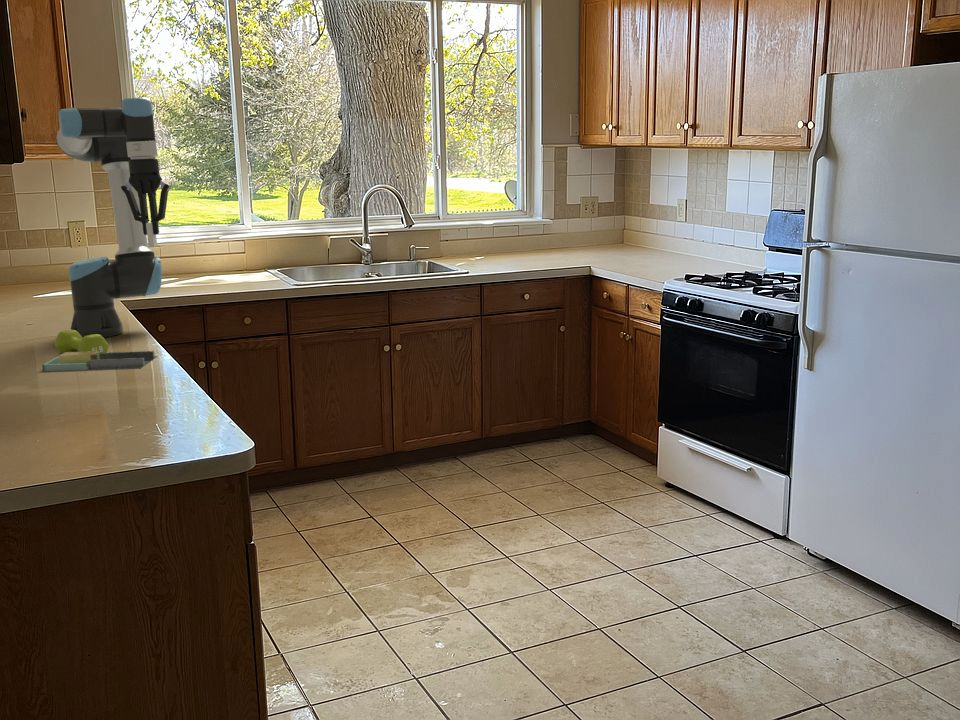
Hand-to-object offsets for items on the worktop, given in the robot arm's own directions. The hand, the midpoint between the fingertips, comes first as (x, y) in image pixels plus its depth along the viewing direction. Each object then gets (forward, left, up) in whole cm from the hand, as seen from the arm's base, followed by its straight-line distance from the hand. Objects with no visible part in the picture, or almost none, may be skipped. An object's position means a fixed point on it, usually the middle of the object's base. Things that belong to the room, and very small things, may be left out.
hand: (152, 246), depth 251 cm
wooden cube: (+19, -14, -29) cm, 37 cm away
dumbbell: (+4, -21, -30) cm, 37 cm away
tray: (+19, -18, -29) cm, 39 cm away
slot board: (+19, -5, -29) cm, 35 cm away
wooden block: (+19, -18, -29) cm, 39 cm away
